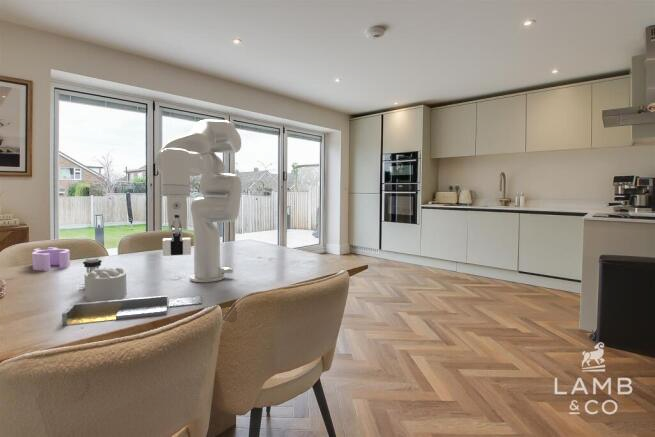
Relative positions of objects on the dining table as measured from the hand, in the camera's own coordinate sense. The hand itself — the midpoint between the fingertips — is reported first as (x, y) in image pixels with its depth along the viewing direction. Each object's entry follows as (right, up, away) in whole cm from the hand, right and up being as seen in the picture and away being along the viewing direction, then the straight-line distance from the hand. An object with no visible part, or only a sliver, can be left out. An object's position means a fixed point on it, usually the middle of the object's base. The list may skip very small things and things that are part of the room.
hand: (176, 252), depth 102 cm
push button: (-37, -14, +17) cm, 43 cm away
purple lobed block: (-76, -11, +48) cm, 90 cm away
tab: (+1, -15, +4) cm, 16 cm away
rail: (-12, -16, -8) cm, 22 cm away
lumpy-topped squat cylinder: (-26, -15, +8) cm, 31 cm away
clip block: (0, 0, 0) cm, 0 cm away
